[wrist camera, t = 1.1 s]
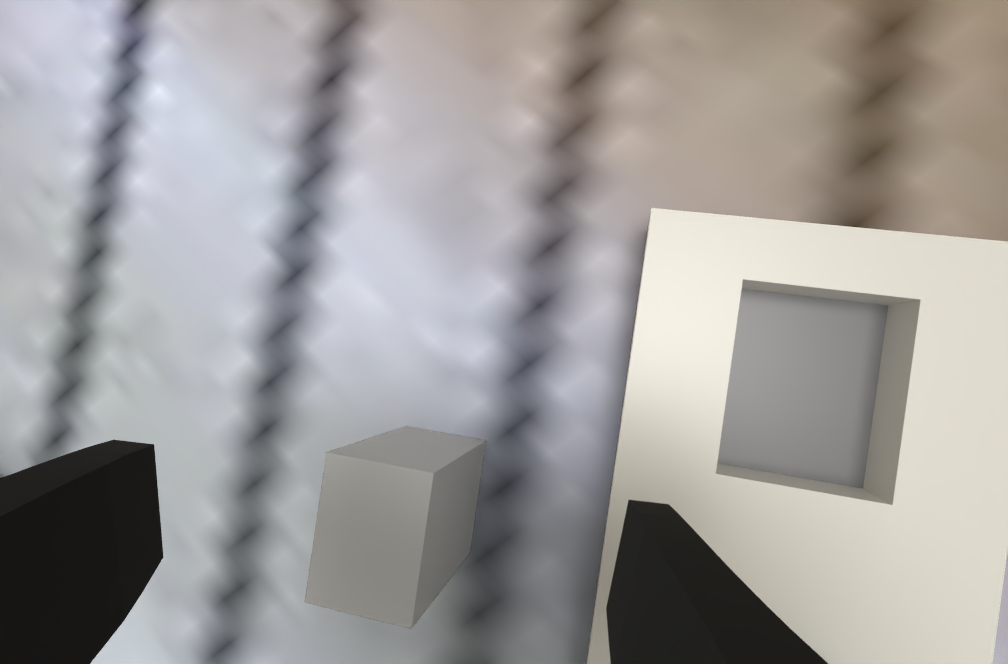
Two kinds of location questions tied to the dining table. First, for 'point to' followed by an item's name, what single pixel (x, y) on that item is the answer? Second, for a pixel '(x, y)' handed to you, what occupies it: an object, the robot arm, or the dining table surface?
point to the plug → (394, 522)
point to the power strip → (826, 427)
